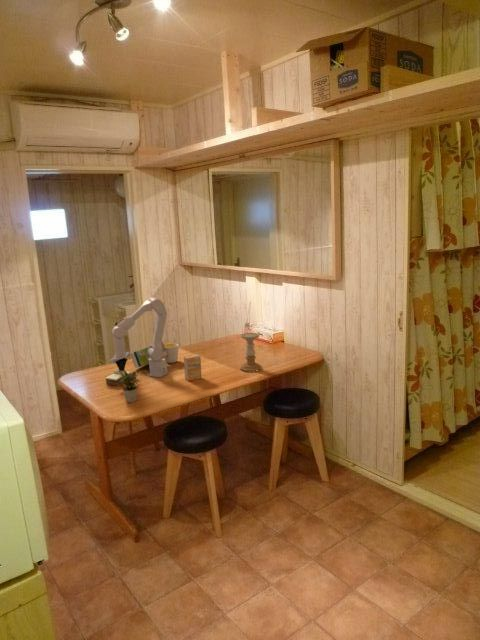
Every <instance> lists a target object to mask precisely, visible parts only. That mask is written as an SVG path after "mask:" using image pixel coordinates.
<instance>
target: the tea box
mask: <svg viewBox="0 0 480 640" xmlns="http://www.w3.org/2000/svg"><path fill="white" fill-rule="evenodd" d="M161 346H162V360H164V359H165V358H166V357H168V355H167V352H166V349H165V347H164V342H163V341H162V342H161ZM149 347H150V345H148V346H144V347H141V348H139V349H138V350H134V351H132V352H130V355H131V356H130V357H131V360H132V363H133V366H134V368H135V369H138V368H139V369H140V368H141V367H145V366H148V365H149V357H150V356H149V355H148V353H147V351H148V348H149Z"/></svg>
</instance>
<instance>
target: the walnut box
mask: <svg viewBox="0 0 480 640" xmlns="http://www.w3.org/2000/svg"><path fill="white" fill-rule="evenodd" d="M131 372H132V373H130V376H129V378H130V381H131V378H132V377H133V374H134V372H135V375H137V373H136V372H137V371H136V370H133V371H131ZM112 374H114V372H113V373H110V374H108V375H107V376H105V378H106V377H108V376H110V375H112ZM128 375H129V374H128ZM135 375H134V376H135ZM124 377H126V376H124ZM124 377H123V378H124ZM123 378H120V379H119V380H117V381H116V380H110V379H105V383H106V385H109V386H110V385H111V386H117V387H119V385H120V384H123V385H121V386H120V387H122V386H123V387H124V386H126V385H125V384H124V383H123V382H121V380H124V379H123ZM134 378H135V377H134ZM135 380H137V377H136V378H135Z"/></svg>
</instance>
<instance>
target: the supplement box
mask: <svg viewBox="0 0 480 640" xmlns="http://www.w3.org/2000/svg"><path fill="white" fill-rule="evenodd" d="M201 357H202V356H201V355H199V353H197V354H193V355H192V354H191V355H186V356H183V363H184V364H183V366H184V368H183V369H184V379H185V380H186V381H187V382H190V381H195V379H196V380H199V378H201V379H202V377H203V375H202V359H201Z"/></svg>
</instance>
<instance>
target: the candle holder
mask: <svg viewBox="0 0 480 640" xmlns="http://www.w3.org/2000/svg"><path fill="white" fill-rule="evenodd" d="M240 337H241V339H244V340H246V344H245V346H246V351H245V355H246V356H245V360H246V362H244V363H243V364H242V365H240V368H241V369H242V370H245V371H256V370H259V369H261V368H262V367H263V366H262V365H261V364H259V363H257V362H256V361H255V360H256V357H257V356H256V351H255V346H256V344H255V343H254V341H255V339H256V340H257V339H258V338H259V337H260V334H259V333H256V332H246V333H242V334H241V335H240ZM241 369H240V370H241ZM242 370H241V371H242ZM261 370H262V369H261ZM245 371H244V372H245ZM259 371H260V370H259ZM256 372H257V371H256Z"/></svg>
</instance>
